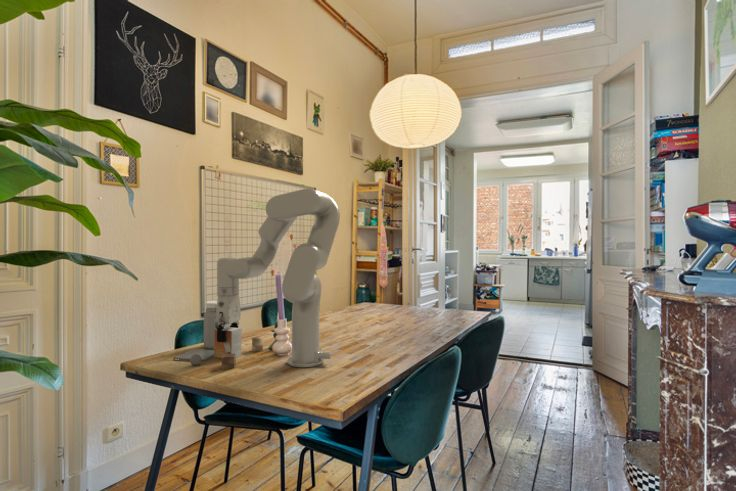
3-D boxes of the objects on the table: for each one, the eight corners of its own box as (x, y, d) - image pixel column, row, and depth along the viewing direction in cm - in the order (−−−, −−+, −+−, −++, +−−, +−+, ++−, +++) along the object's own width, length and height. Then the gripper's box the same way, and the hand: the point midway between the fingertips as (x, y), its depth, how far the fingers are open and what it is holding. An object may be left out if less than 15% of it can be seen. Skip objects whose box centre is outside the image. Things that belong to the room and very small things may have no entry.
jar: (218, 350, 158) (218, 304, 157) (197, 348, 161) (197, 302, 161) (234, 344, 167) (234, 300, 167) (215, 342, 170) (215, 299, 170)
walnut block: (235, 365, 140) (235, 353, 140) (234, 368, 136) (234, 356, 136) (223, 365, 139) (223, 354, 139) (221, 369, 135) (221, 357, 135)
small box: (213, 357, 148) (213, 328, 148) (224, 353, 153) (224, 325, 153) (231, 360, 145) (231, 330, 145) (241, 356, 150) (241, 327, 150)
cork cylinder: (264, 349, 160) (264, 336, 160) (260, 352, 156) (260, 339, 156) (254, 349, 160) (254, 336, 160) (250, 351, 156) (250, 338, 156)
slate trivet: (221, 352, 155) (221, 350, 155) (204, 361, 143) (204, 359, 143) (192, 351, 157) (192, 349, 157) (173, 360, 145) (173, 357, 145)
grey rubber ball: (203, 363, 141) (203, 353, 141) (197, 366, 137) (197, 356, 137) (193, 363, 141) (193, 352, 141) (187, 366, 138) (187, 355, 138)
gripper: (226, 294, 140) (225, 345, 140) (248, 289, 157) (248, 333, 157) (205, 294, 141) (205, 344, 141) (229, 288, 158) (229, 333, 158)
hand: (227, 338), depth 149 cm, fingers open, 8 cm apart
